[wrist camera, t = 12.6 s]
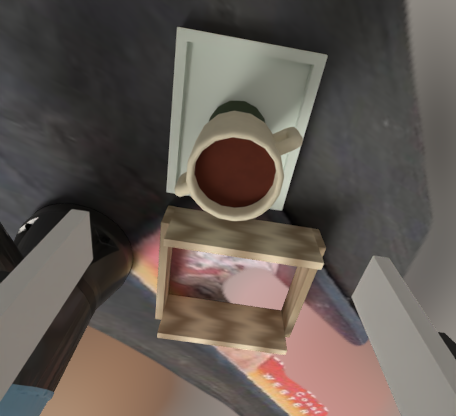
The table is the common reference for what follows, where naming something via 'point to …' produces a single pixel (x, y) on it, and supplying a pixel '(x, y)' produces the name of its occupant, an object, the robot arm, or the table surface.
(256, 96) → the tray
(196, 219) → the wooden frame
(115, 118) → the table surface
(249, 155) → the character mug
